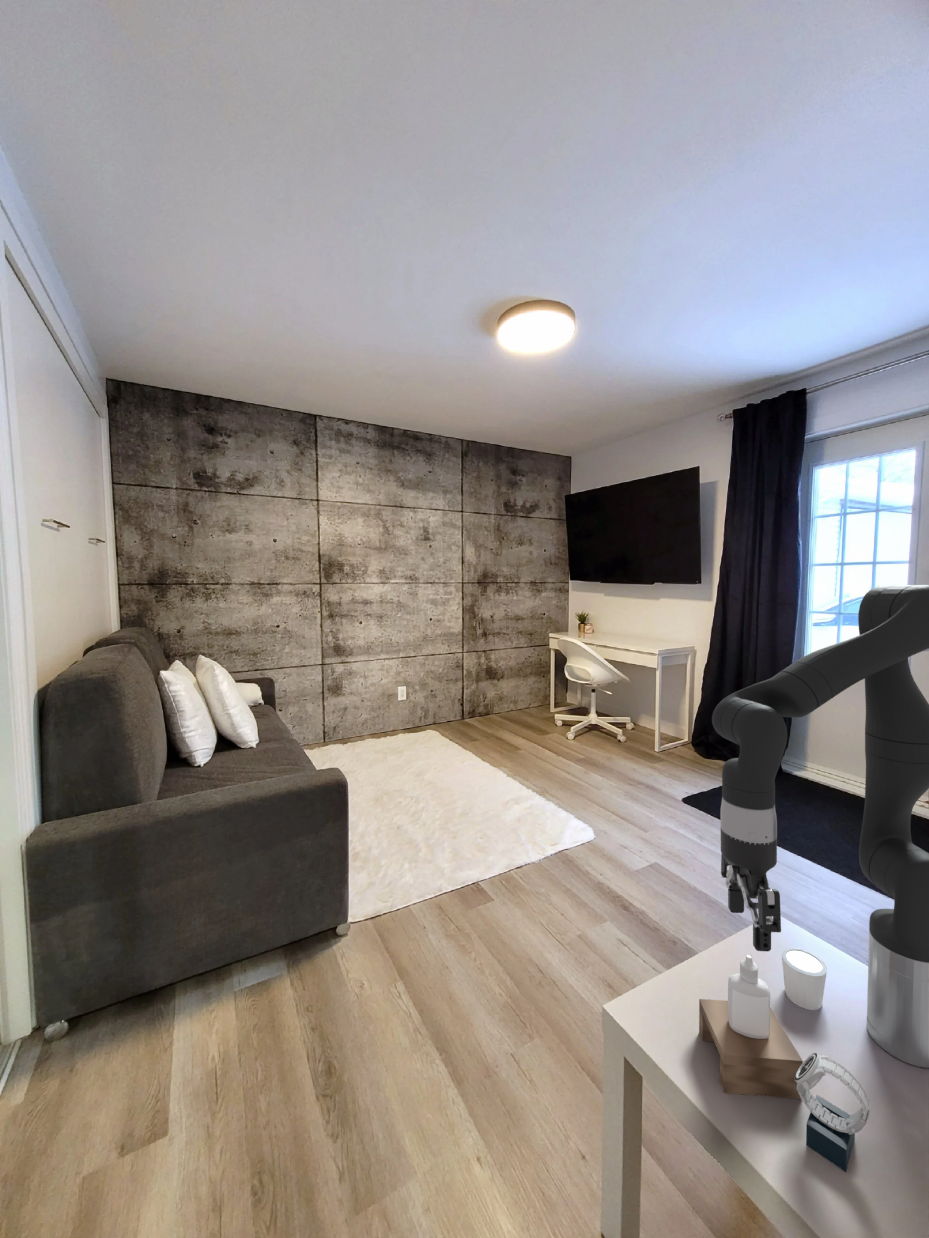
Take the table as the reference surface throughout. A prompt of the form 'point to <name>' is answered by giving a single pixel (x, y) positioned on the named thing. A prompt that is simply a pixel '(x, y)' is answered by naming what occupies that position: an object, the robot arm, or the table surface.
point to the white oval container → (804, 978)
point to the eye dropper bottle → (749, 1002)
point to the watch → (830, 1111)
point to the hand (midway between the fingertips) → (748, 929)
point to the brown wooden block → (750, 1055)
